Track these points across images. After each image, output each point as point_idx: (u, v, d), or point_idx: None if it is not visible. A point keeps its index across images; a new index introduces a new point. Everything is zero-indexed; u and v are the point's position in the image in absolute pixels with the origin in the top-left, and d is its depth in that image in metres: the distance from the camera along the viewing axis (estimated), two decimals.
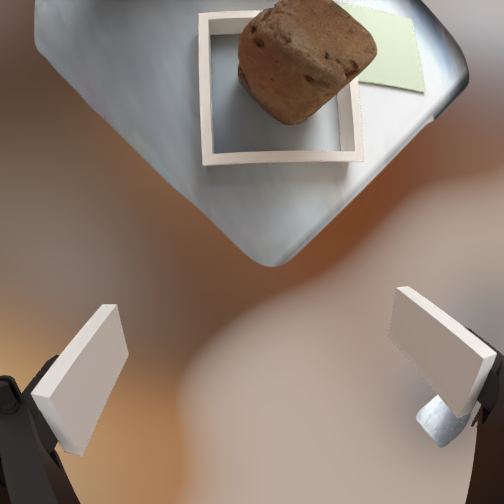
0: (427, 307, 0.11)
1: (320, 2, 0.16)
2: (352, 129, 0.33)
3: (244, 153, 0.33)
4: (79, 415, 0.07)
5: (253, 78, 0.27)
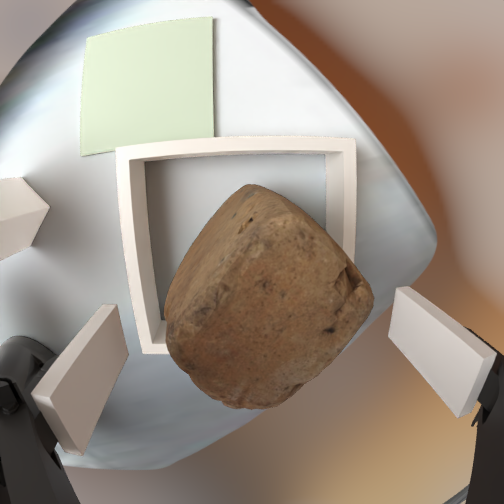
0: (427, 307, 0.11)
1: (201, 343, 0.11)
2: (310, 150, 0.24)
3: None
4: (79, 415, 0.07)
5: None
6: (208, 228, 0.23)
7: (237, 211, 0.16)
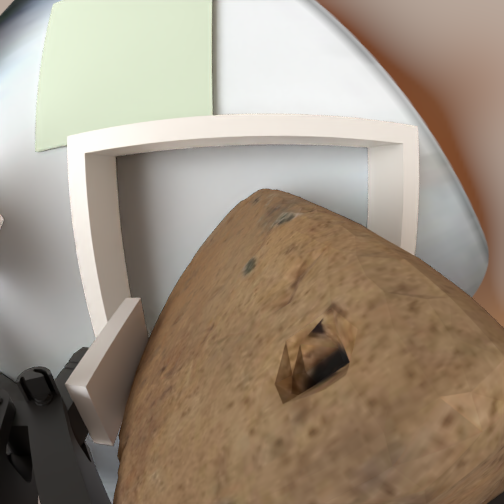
0: None
1: None
2: (357, 139, 0.15)
3: None
4: (110, 405, 0.08)
5: None
6: (201, 261, 0.14)
7: (256, 256, 0.07)
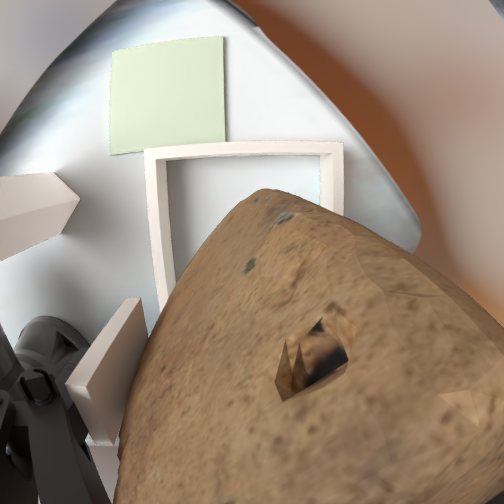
0: None
1: None
2: (304, 152, 0.29)
3: None
4: (110, 404, 0.08)
5: None
6: (201, 261, 0.14)
7: (256, 255, 0.07)
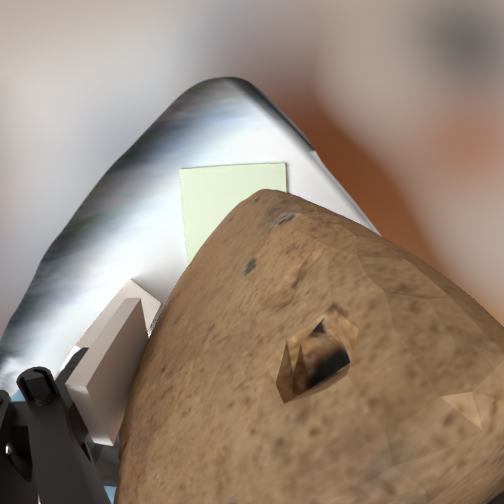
0: None
1: None
2: None
3: None
4: (110, 405, 0.08)
5: None
6: (202, 261, 0.14)
7: (257, 256, 0.07)
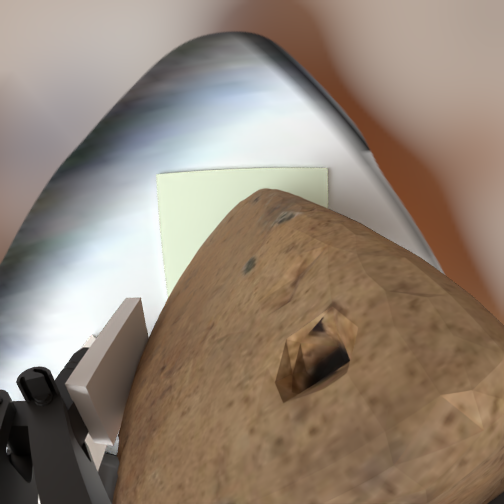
0: None
1: None
2: None
3: None
4: (110, 404, 0.08)
5: None
6: (201, 261, 0.14)
7: (256, 255, 0.07)
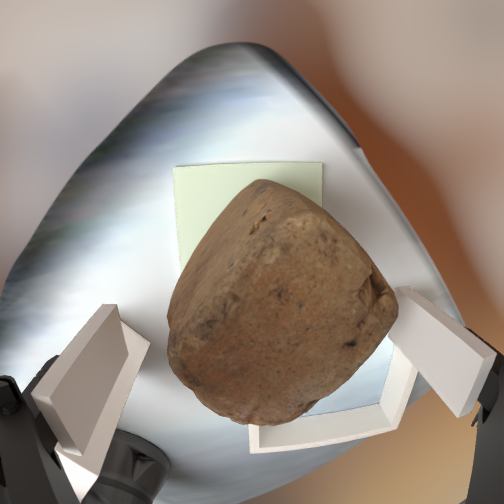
0: (427, 307, 0.11)
1: (207, 358, 0.09)
2: None
3: (399, 407, 0.31)
4: (79, 415, 0.07)
5: None
6: (216, 225, 0.21)
7: (248, 208, 0.14)
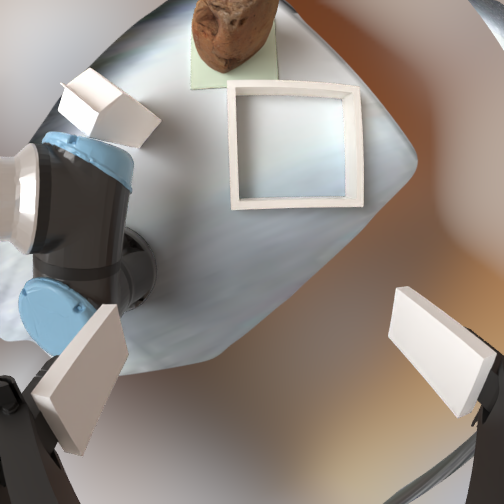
0: (427, 307, 0.11)
1: None
2: (335, 91, 0.40)
3: (357, 176, 0.43)
4: (79, 415, 0.07)
5: (244, 47, 0.33)
6: None
7: None
